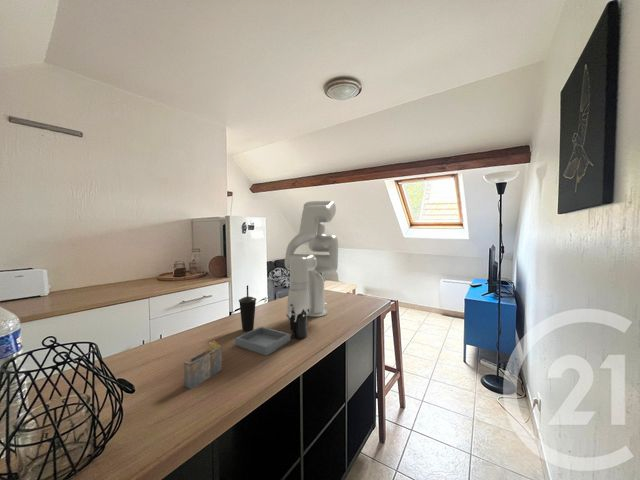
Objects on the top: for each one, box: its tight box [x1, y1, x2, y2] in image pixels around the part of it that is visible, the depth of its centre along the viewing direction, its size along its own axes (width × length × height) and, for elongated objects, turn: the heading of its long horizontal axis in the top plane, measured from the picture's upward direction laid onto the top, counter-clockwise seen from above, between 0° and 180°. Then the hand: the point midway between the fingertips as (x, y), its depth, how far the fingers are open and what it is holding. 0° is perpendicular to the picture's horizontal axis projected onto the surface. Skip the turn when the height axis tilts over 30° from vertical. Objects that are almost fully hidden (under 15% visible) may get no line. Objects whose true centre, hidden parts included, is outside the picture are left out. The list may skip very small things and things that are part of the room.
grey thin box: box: [183, 339, 223, 390], centre depth 79 cm, size 11×3×10 cm, turn 154°
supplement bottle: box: [290, 309, 308, 340], centre depth 110 cm, size 7×7×12 cm
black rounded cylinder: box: [238, 285, 257, 333], centre depth 117 cm, size 8×8×20 cm
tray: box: [235, 325, 292, 357], centre depth 103 cm, size 14×16×3 cm
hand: (299, 327), depth 110 cm, fingers closed on supplement bottle, 6 cm apart
